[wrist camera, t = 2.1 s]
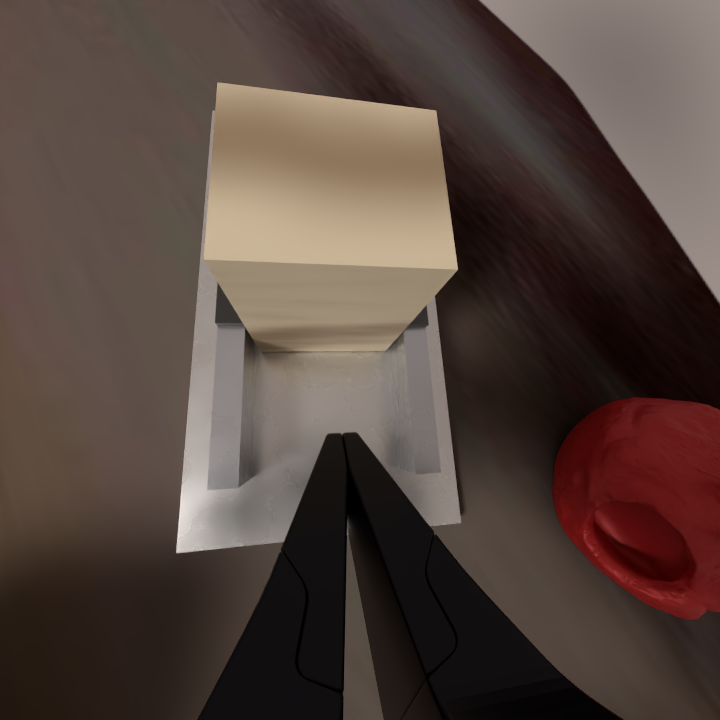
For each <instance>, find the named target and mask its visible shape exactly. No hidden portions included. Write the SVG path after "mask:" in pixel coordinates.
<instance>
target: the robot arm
mask: <svg viewBox="0 0 720 720" xmlns="http://www.w3.org/2000/svg"><path fill="white" fill-rule="evenodd" d="M347 529H348V534H349V539H350V545H351V550H352V555H353V560H354V566H355V571H356V576H357V581H358V587H359V592H360V597H361V602H362V608H363V613H364V618H365V623H366V629H367V634H368V639H369V644H370V650H371V655H372V660H373V665H374V670H375V676H376V681H377V686H378V691H379V697H380V702H381V707H382V712H383V718H384V720H623V719H622V718H620V717H619V716H617V715H616V714H614V713H613V712H611V711H610V710H608V709H607V708H605V707H604V706H602V705H601V704H599V703H598V702H597V701H595V700H594V699H592V698H591V697H589V696H588V695H587V694H585V693H584V692H583V691H582V690H580V689H579V688H578V687H576V686H575V685H574V684H573V683H572V682H571V681H569V680H568V679H567V678H566V677H565V676H564V675H563V674H561V673H560V672H559V671H558V670H557V669H556V668H555V667H554V666H553V665H552V664H551V663H550V662H549V661H548V660H547V659H546V658H545V657H544V656H543V655H542V654H541V653H540V652H539V650H538V649H537V648H536V647H535V646H534V645H533V644H532V643H531V642H530V641H529V640H528V639H527V638H526V637H525V635H524V634H523V633H522V632H521V631H520V630H519V629H518V628H517V627H516V626H515V625H514V624H513V623H512V621H511V620H510V619H509V618H508V617H507V616H506V615H505V614H504V613H503V612H502V611H501V610H500V609H499V608H498V606H497V605H496V604H495V603H494V602H493V601H492V600H491V599H490V598H489V597H488V596H487V595H486V594H485V592H484V591H483V590H482V589H481V588H480V587H479V586H478V585H477V583H476V582H475V581H474V580H473V579H472V578H471V577H470V576H469V575H468V573H467V572H466V571H465V570H464V569H463V568H462V566H461V565H460V564H459V563H458V561H457V560H456V559H455V558H454V557H453V555H452V554H451V553H450V552H449V550H448V549H447V548H446V547H445V545H444V544H443V543H442V541H441V540H440V539H439V537H438V536H437V535H434V531H433V530H432V529H431V527H430V526H429V525H428V523H427V522H426V521H425V519H424V518H423V517H422V516H421V514H420V513H419V512H418V510H417V509H416V508H415V507H414V505H413V504H412V503H411V501H410V500H409V499H408V497H407V496H406V495H405V494H404V492H403V491H402V490H401V488H400V487H399V486H398V485H397V483H396V482H395V481H394V479H393V478H392V477H391V475H390V474H389V473H388V472H387V470H386V469H385V468H384V466H383V465H382V464H381V463H380V461H379V460H378V459H377V457H376V456H375V455H374V453H373V452H372V451H371V450H370V448H369V447H368V446H367V444H366V443H365V442H364V441H363V439H362V438H361V437H360V435H359V434H358V433H357V432H345V433H343V434H341V433H328V434H327V435H326V437H325V440H324V442H323V445H322V447H321V450H320V452H319V455H318V457H317V460H316V462H315V465H314V467H313V470H312V472H311V475H310V477H309V480H308V482H307V485H306V487H305V490H304V492H303V495H302V497H301V500H300V502H299V505H298V507H297V510H296V512H295V515H294V517H293V520H292V522H291V525H290V527H289V530H288V532H287V535H286V537H285V540H284V542H283V545H282V547H281V552H280V553H279V554H278V557H277V559H276V562H275V564H274V567H273V569H272V572H271V574H270V576H269V579H268V581H267V583H266V586H265V588H264V590H263V593H262V595H261V597H260V599H259V601H258V603H257V605H256V607H255V609H254V611H253V614H252V616H251V618H250V620H249V622H248V624H247V626H246V628H245V630H244V632H243V634H242V636H241V637H240V639H239V641H238V643H237V645H236V647H235V649H234V651H233V653H232V655H231V656H230V658H229V660H228V662H227V664H226V666H225V668H224V670H223V672H222V674H221V675H220V677H219V679H218V681H217V683H216V685H215V687H214V689H213V691H212V693H211V695H210V696H209V698H208V700H207V702H206V704H205V706H204V708H203V710H202V712H201V714H200V715H199V717H198V719H197V720H343V690H344V648H345V600H346V552H347ZM433 535H434V536H433Z"/></svg>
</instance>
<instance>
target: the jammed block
mask: <svg viewBox="0 0 720 720" xmlns="http://www.w3.org/2000/svg"><path fill="white" fill-rule="evenodd" d="M204 261H205V263H206V264H207V266H208V268H209V269H210V271H211V272H212V274H213V276H214V277H215V279H216V280H217V282H218V284H219V285H220V287H221V289H222V290H223V292H224V293H225V295H226V297H227V298H228V300H229V301H230V303H231V305H232V306H233V308H234V310H235V311H236V313H237V314H238V316H239V318H240V319H241V321H242V323H243V324H244V326H245V327H246V329H247V331H248V332H249V334H250V335H251V337H252V339H253V340H254V342H255V344H256V345H257V347H258V348H259V350H260V352H281V351H386V350H387V349H388V348H389V347H390V346H391V344H392V343H393V342H394V341H395V340H396V339H397V338H398V337H399V335H400V334H401V333H402V332H403V331H404V330H405V329H406V328H407V326H408V325H409V324H410V323H411V322H412V321H413V320H414V319H415V317H416V316H417V315H418V314H419V313H420V312H421V311H422V310H423V308H424V307H425V306H426V305H427V304H428V303H429V302H430V301H431V299H432V298H433V297H434V296H435V295H436V294H437V293H438V292H439V290H440V289H441V288H442V287H443V286H444V285H445V284H446V283H447V281H448V280H449V279H450V278H451V277H452V276H453V275H454V274H455V272H456V271H457V270H458V266H457V258H456V251H455V244H454V237H453V229H452V222H451V215H450V208H449V200H448V193H447V186H446V179H445V171H444V164H443V157H442V150H441V142H440V135H439V128H438V121H437V114H436V111H435V110H427V109H419V108H412V107H404V106H396V105H388V104H381V103H373V102H365V101H357V100H350V99H342V98H334V97H326V96H319V95H311V94H303V93H295V92H288V91H280V90H272V89H264V88H257V87H249V86H241V85H233V84H226V83H218V84H217V96H216V109H215V121H214V134H213V147H212V159H211V172H210V185H209V197H208V210H207V222H206V235H205V248H204Z"/></svg>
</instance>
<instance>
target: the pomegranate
mask: <svg viewBox="0 0 720 720" xmlns="http://www.w3.org/2000/svg"><path fill="white" fill-rule="evenodd" d="M552 495H553V500H554V507H555V509H556V513H557V517H558V520H559V522H560V524H561V526H562V528H563V530H564V531H565V533H566V535H567V536H568V537H569V538H570V539H571V541H572V542H573V543H574V544H575V545H576V546H577V547H578V548H579V549H580V551H581V552H582V553H583V554H584V555H585V556H586V557H587V559H588V560H589V561H590V562H591V563H592V564H593V565H594V566H595V567H597V568H598V569H599V570H600V571H602V572H603V573H604V574H606V575H607V576H608V577H609V578H610V579H612V580H613V581H614V582H615V583H617V584H618V585H620V586H622V587H623V588H624V589H625V590H627V591H628V592H630V593H631V594H633V595H634V596H636V597H637V598H638V599H640V600H642V601H643V602H645V603H646V604H648V605H649V606H651V607H653V608H656V609H660V610H662V611H664V612H666V613H669V614H672V615H674V616H676V617H680V618H684V619H688V620H694V619H698V618H699V617H701V615H703V614H705V612H706V611H707V610H710V611H716V612H720V410H719V409H717V408H714V407H712V406H710V405H706V404H701V403H696V402H691V401H677V400H669V399H661V398H637V397H632V398H628V399H619V400H616V401H613V402H610V403H608V404H606V405H603V406H602V407H600V408H598V409H597V410H595V411H593V412H591V413H590V414H589V415H587V416H586V417H585V418H584V419H583V420H582V421H580V422H579V423H578V424H577V425H576V426H575V427H574V428H573V429H572V430H571V432H570V433H569V434H568V435H567V437H566V438H565V440H564V441H563V443H562V445H561V447H560V449H559V451H558V453H557V457H556V461H555V466H554V473H553V489H552Z"/></svg>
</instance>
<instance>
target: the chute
mask: <svg viewBox="0 0 720 720" xmlns="http://www.w3.org/2000/svg"><path fill="white" fill-rule="evenodd" d="M214 121H215V111H212V124H211V136H210V148H209V160H208V172H207V184H206V197H205V209H204V221H203V233H202V245H201V258H200V270H199V282H198V294H197V306H196V319H195V331H194V343H193V355H192V367H191V380H190V392H189V404H188V416H187V428H186V441H185V453H184V465H183V477H182V489H181V502H180V514H179V526H178V538H177V550H176V553H183V552H192V551H202V550H211V549H221V548H230V547H239V546H249V545H258V544H268V543H277V542H284V540H285V537H286V535H287V532H288V530H289V527H290V525H291V522H292V520H293V517H294V515H295V512H296V510H297V507H298V505H299V502H300V500H301V497H302V495H303V492H304V490H305V487H306V485H307V482H308V480H309V477H310V475H311V472H312V470H313V467H314V465H315V462H316V460H317V457H318V455H319V452H320V450H321V447H322V445H323V442H324V440H325V437H326V435H327V434H328V433H341V434H343V433H345V432H357V433H358V434H359V435H360V437H361V438H362V439H363V441H364V442H365V443H366V444H367V446H368V447H369V448H370V450H371V451H372V452H373V453H374V455H375V456H376V457H377V459H378V460H379V461H380V463H381V464H382V465H383V466H384V468H385V469H386V470H387V472H388V473H389V474H390V475H391V477H392V478H393V479H394V481H395V482H396V483H397V485H398V486H399V487H400V488H401V490H402V491H403V492H404V494H405V495H406V496H407V497H408V499H409V500H410V501H411V503H412V504H413V505H414V507H415V508H416V509H417V510H418V512H419V513H420V514H421V516H422V517H423V518H424V519H425V521H426V522H427V523H428V525H429V526H437V525H447V524H456V523H461V517H460V509H459V500H458V491H457V483H456V474H455V465H454V457H453V448H452V440H451V431H450V422H449V414H448V405H447V396H446V388H445V379H444V370H443V362H442V353H441V345H440V336H439V327H438V319H437V310H436V301H435V296H434V297H433V298H432V299H431V301H430V302H429V303H428V304H427V305H426V306H425V307H424V308H423V310H422V311H421V312H420V313H419V314H418V315H417V316H416V317H415V319H414V320H413V321H412V322H411V323H410V324H409V325H408V326H407V328H406V329H405V330H404V331H403V332H402V333H401V334H400V335H399V337H398V338H397V339H396V340H395V341H394V342H393V343H392V344H391V346H390V347H389V348H388V349H387V350H386V351H281V352H260V350H259V348H258V347H257V345H256V344H255V342H254V340H253V339H252V337H251V335H250V334H249V332H248V331H247V329H246V327H245V326H244V324H243V323H242V321H241V319H240V318H239V316H238V314H237V313H236V311H235V310H234V308H233V306H232V305H231V303H230V301H229V300H228V298H227V297H226V295H225V293H224V292H223V290H222V289H221V287H220V285H219V284H218V282H217V280H216V279H215V277H214V276H213V274H212V272H211V271H210V269H209V268H208V266H207V264H206V263H205V261H204V248H205V235H206V222H207V210H208V197H209V185H210V172H211V159H212V147H213V134H214ZM347 535H349V534H348V529H347Z"/></svg>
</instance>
